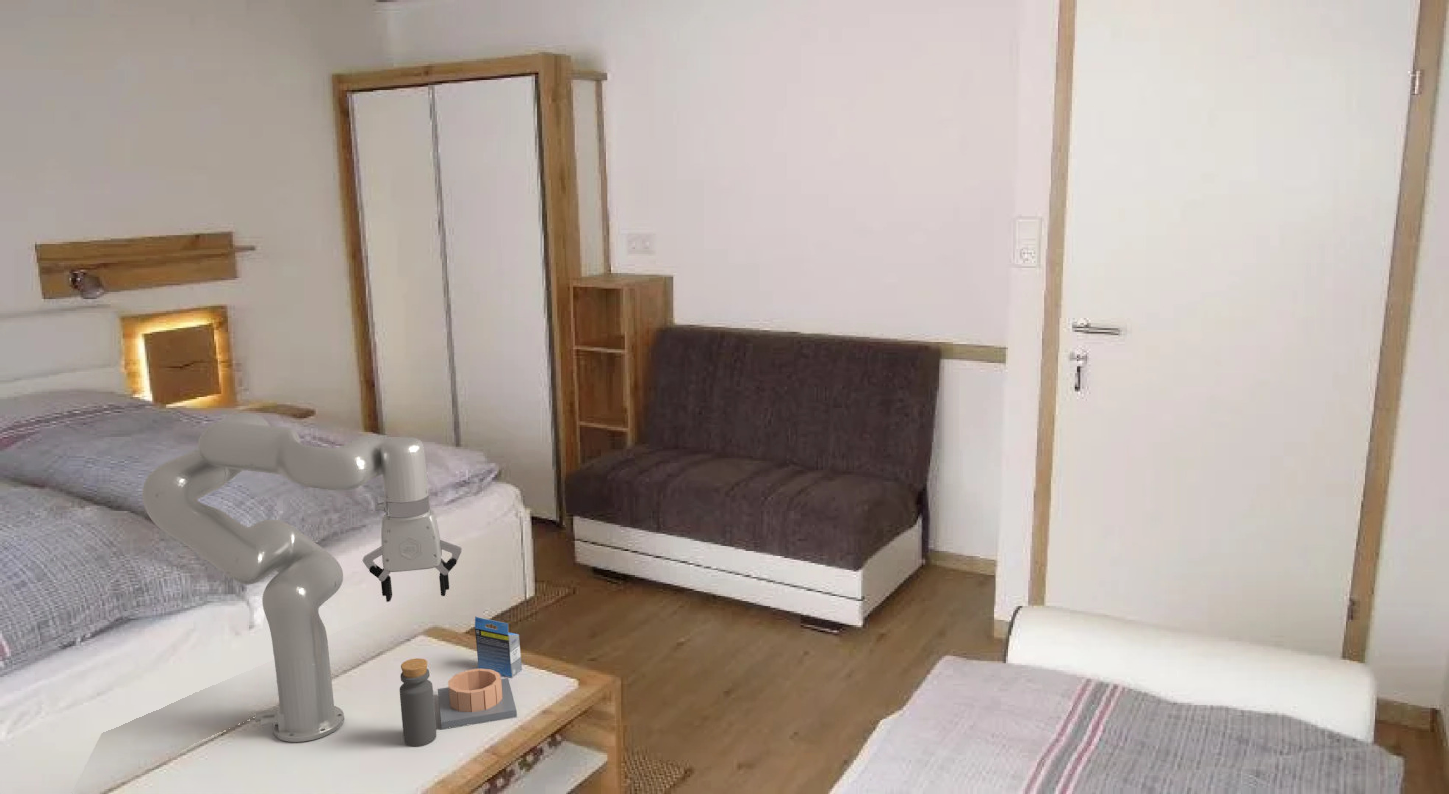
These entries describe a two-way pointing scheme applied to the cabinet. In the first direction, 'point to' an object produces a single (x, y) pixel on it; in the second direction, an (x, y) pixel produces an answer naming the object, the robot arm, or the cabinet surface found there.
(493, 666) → the label tape box
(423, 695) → the bottle
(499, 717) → the holder
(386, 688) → the cabinet surface
